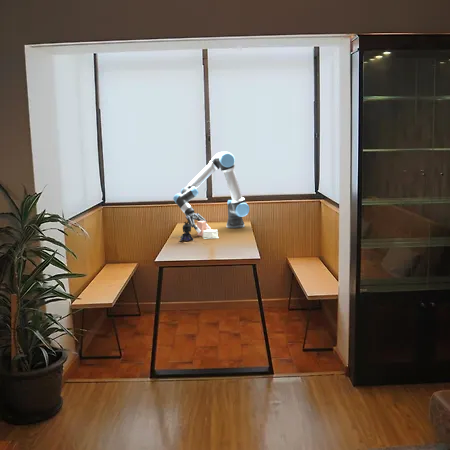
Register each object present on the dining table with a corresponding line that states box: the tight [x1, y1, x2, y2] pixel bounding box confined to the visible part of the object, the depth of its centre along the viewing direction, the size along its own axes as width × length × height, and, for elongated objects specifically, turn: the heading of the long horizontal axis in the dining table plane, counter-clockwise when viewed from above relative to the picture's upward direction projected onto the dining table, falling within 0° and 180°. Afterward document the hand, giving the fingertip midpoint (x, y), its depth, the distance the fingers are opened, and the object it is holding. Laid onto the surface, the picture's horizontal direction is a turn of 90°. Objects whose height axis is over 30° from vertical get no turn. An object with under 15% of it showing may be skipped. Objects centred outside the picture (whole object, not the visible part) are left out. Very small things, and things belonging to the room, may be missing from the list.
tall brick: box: [196, 220, 207, 237], centre depth 413 cm, size 5×5×12 cm
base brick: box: [202, 229, 219, 239], centre depth 404 cm, size 8×8×5 cm
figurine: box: [177, 220, 194, 243], centre depth 396 cm, size 8×12×15 cm
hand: (204, 230), depth 412 cm, fingers open, 11 cm apart
